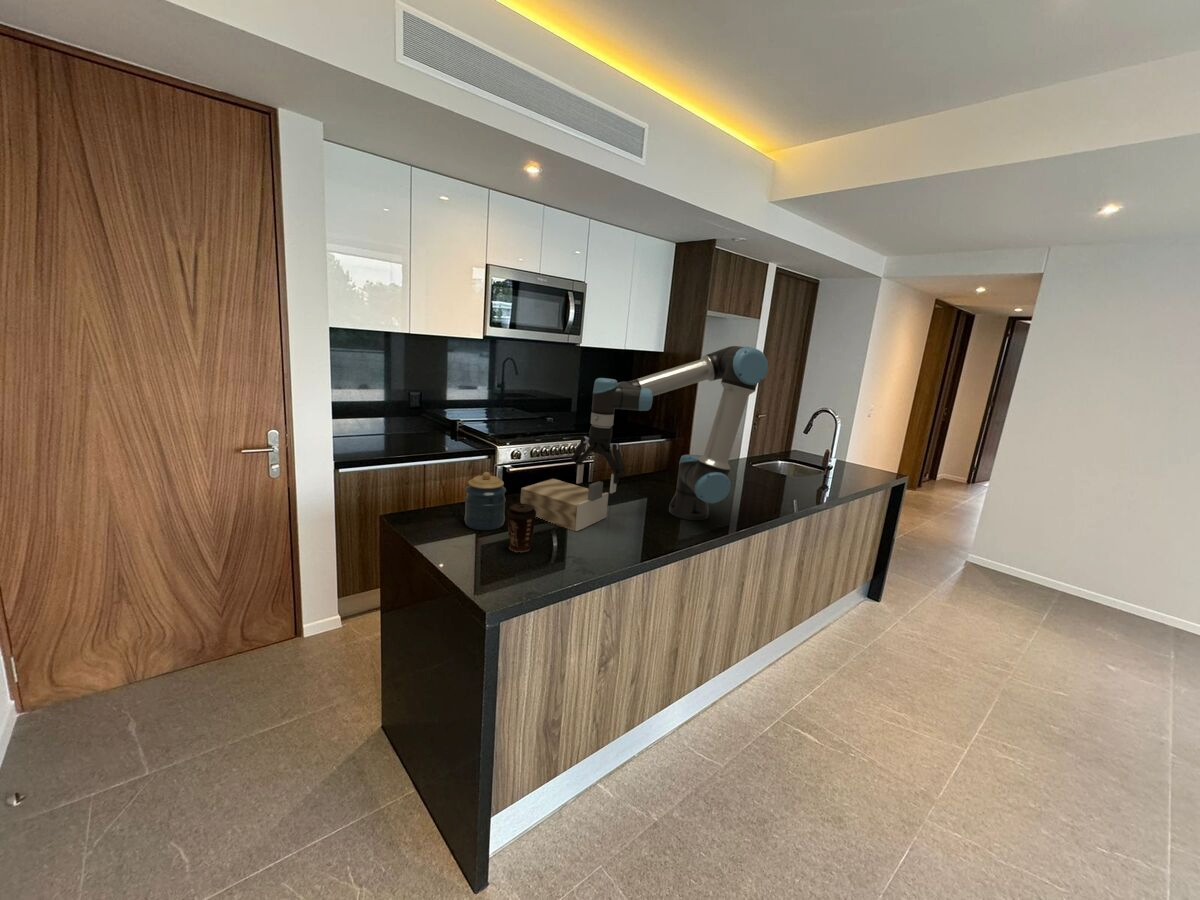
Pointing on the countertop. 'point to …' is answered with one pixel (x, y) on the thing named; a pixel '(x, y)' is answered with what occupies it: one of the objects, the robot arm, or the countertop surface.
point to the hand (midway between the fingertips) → (595, 487)
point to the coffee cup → (521, 526)
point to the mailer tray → (592, 507)
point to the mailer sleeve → (555, 501)
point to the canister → (485, 503)
